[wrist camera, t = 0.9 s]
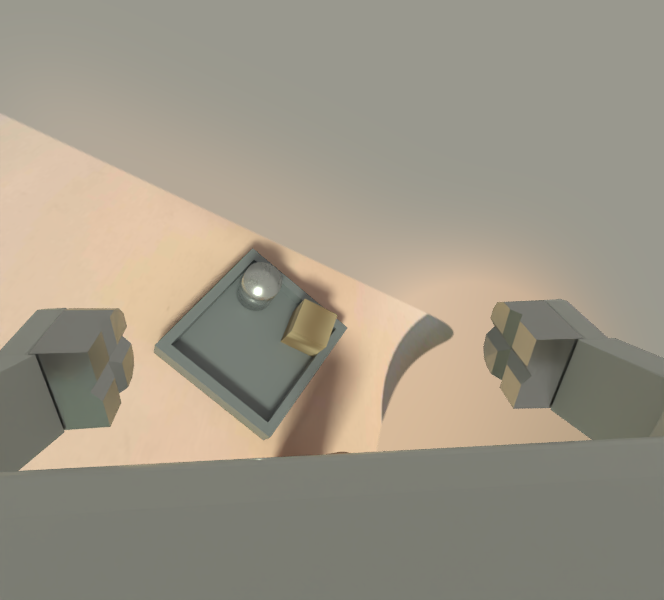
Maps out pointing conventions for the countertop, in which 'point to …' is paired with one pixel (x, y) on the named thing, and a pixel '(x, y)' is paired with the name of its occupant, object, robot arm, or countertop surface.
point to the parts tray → (244, 351)
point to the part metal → (259, 286)
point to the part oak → (309, 328)
